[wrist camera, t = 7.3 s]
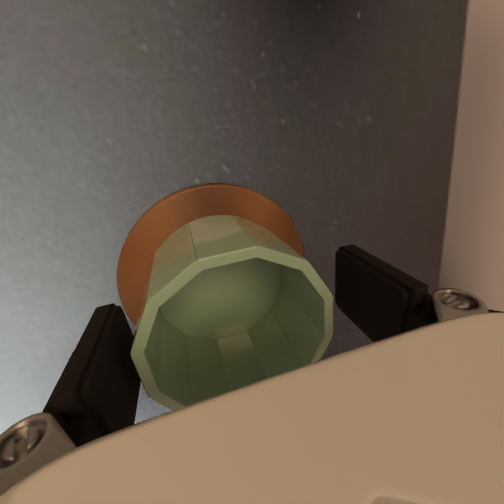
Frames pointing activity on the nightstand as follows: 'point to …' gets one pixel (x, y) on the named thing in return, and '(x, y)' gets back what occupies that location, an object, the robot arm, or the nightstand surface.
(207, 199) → the plate
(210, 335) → the bowl
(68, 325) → the nightstand surface
